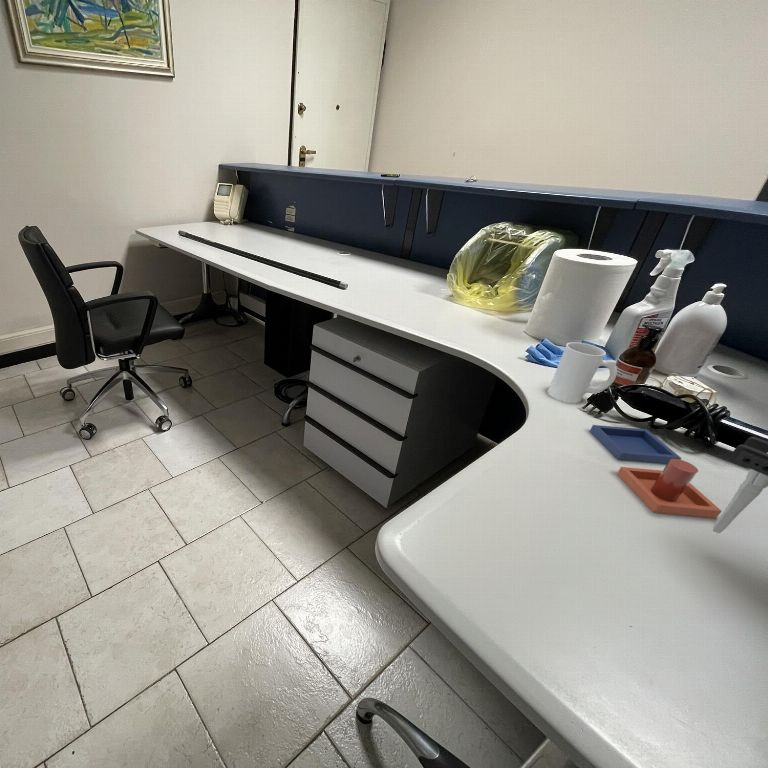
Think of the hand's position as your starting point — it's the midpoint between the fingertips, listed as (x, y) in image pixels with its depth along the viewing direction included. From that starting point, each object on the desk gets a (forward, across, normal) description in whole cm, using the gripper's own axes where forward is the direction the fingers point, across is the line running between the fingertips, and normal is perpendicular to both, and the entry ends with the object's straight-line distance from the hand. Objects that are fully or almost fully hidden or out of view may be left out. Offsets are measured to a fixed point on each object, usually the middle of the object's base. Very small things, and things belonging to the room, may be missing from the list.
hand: (740, 447), depth 50 cm
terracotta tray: (+4, -8, +16) cm, 19 cm away
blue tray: (+13, -18, +16) cm, 28 cm away
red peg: (+4, -8, +16) cm, 18 cm away
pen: (-3, 0, +12) cm, 13 cm away
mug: (+28, -27, +17) cm, 42 cm away
